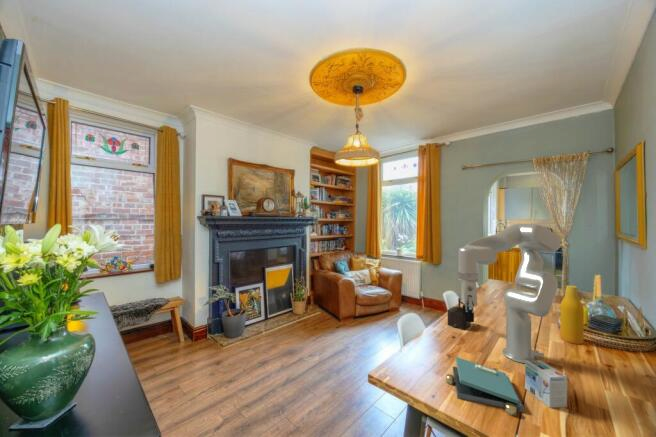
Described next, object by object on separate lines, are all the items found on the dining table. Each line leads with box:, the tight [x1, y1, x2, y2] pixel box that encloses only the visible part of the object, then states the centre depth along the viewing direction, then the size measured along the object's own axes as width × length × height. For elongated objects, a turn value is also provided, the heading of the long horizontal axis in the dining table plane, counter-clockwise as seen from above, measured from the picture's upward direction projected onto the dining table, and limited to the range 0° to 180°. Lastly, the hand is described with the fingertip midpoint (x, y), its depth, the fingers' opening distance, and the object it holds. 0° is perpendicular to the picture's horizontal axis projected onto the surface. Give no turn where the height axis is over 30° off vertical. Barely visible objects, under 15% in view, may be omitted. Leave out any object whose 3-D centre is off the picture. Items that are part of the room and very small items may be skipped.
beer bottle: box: [559, 284, 585, 345], centre depth 140 cm, size 9×9×29 cm
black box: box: [447, 297, 476, 330], centre depth 158 cm, size 16×11×18 cm
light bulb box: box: [524, 360, 568, 408], centre depth 96 cm, size 11×7×11 cm, turn 5°
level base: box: [445, 366, 524, 417], centre depth 101 cm, size 23×24×2 cm
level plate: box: [455, 356, 520, 404], centre depth 100 cm, size 18×17×2 cm
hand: (468, 317), depth 112 cm, fingers open, 7 cm apart
